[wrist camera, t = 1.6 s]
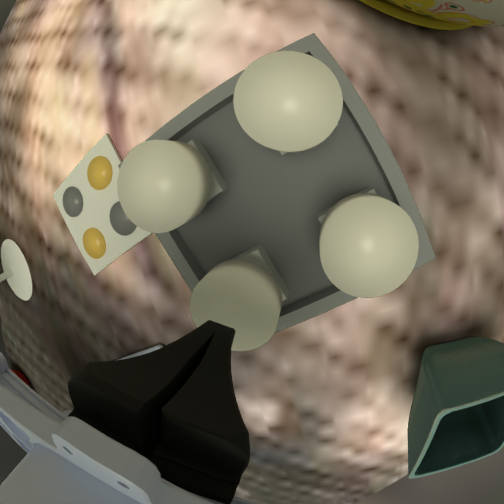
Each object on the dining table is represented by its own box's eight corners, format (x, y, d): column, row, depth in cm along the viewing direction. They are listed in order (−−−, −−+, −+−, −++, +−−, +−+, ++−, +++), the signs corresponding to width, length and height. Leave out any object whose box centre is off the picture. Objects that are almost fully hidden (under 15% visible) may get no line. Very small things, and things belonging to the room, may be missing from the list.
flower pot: (406, 328, 19) (438, 413, 11) (493, 311, 17) (544, 375, 9) (394, 403, 22) (406, 481, 13) (471, 386, 19) (499, 451, 11)
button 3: (235, 330, 20) (220, 360, 17) (196, 271, 19) (173, 293, 16) (298, 304, 18) (293, 334, 15) (259, 237, 17) (246, 255, 14)
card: (96, 274, 24) (93, 276, 24) (55, 194, 22) (51, 195, 22) (159, 227, 21) (156, 229, 21) (108, 134, 20) (104, 133, 19)
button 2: (277, 169, 16) (268, 171, 13) (234, 99, 15) (214, 85, 12) (353, 128, 14) (363, 120, 11) (306, 58, 14) (303, 34, 10)
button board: (236, 337, 23) (230, 350, 21) (130, 164, 20) (116, 165, 18) (427, 250, 17) (436, 259, 16) (314, 42, 15) (313, 31, 13)
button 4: (173, 233, 19) (145, 248, 15) (137, 170, 18) (104, 175, 15) (234, 194, 17) (215, 202, 14) (193, 126, 16) (166, 120, 13)
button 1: (340, 285, 17) (345, 313, 14) (303, 214, 16) (300, 227, 13) (411, 250, 16) (430, 271, 12) (378, 175, 15) (394, 179, 12)
